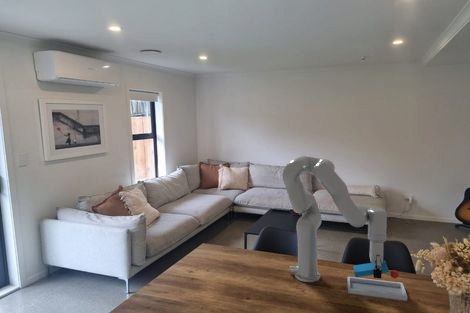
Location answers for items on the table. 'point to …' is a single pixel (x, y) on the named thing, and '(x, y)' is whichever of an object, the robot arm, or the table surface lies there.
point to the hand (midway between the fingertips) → (376, 273)
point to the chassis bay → (376, 289)
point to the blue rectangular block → (372, 270)
